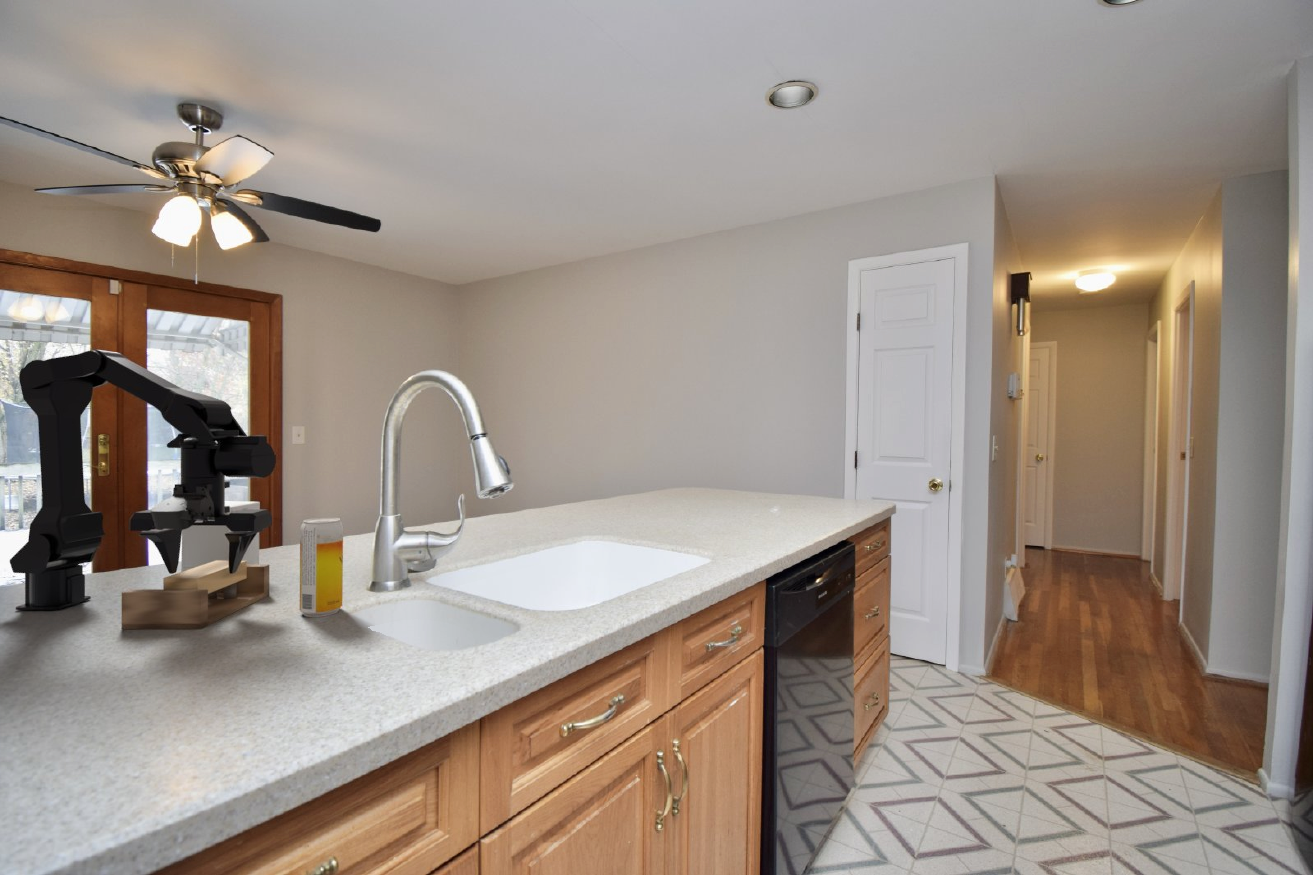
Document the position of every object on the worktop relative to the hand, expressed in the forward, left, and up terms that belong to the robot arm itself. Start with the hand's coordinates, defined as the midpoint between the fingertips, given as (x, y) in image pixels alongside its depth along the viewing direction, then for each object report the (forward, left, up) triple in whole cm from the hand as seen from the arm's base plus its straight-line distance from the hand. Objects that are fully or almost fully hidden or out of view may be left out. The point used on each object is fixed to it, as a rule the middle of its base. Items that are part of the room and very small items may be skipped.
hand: (202, 573), depth 99 cm
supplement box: (-8, +18, -6) cm, 21 cm away
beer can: (+19, -1, -6) cm, 20 cm away
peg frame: (0, 0, -6) cm, 6 cm away
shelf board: (+1, 0, -2) cm, 2 cm away
